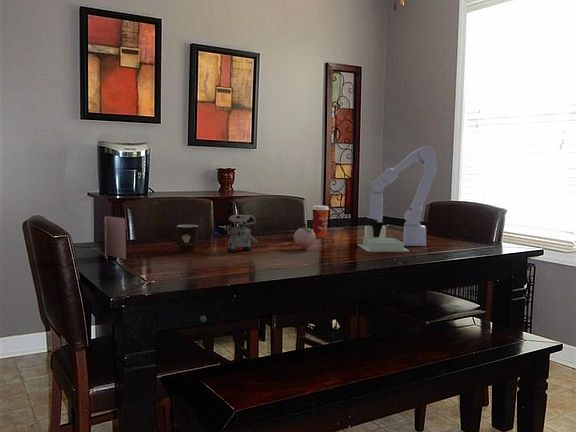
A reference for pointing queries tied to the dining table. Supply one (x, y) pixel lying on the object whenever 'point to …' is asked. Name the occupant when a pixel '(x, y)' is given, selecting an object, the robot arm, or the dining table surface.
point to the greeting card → (115, 237)
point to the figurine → (240, 232)
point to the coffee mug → (186, 237)
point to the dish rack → (383, 245)
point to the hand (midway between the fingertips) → (375, 236)
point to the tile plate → (370, 232)
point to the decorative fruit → (304, 237)
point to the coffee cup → (320, 221)
